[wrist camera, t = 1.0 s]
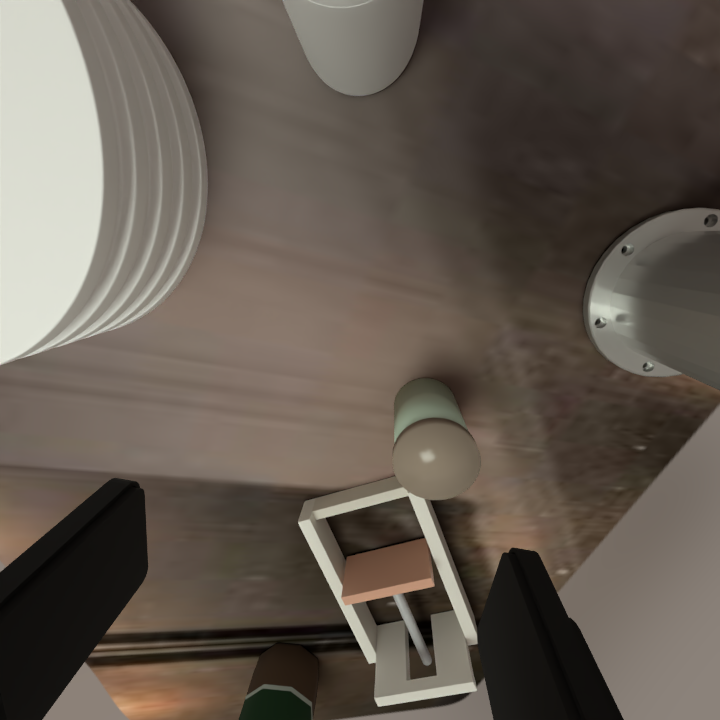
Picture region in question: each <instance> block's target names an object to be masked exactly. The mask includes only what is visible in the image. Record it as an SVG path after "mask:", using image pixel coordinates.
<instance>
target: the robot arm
mask: <svg viewBox="0 0 720 720" xmlns="http://www.w3.org/2000/svg"><path fill="white" fill-rule="evenodd" d="M622 247H623V248H624V250H623V252H621V250H622ZM583 318H584V324H585V328H586V331H587V333H588V336H589V338H590V341H591V342H592V343H593V345H594V346H595V348H596V349H597V351H598V352H599V353H600V354H601V355H603V356H604V357H605V358H606V359H607V360H608V361H610V362H612V363H613V364H615V365H617V366H618V367H620V368H622V369H625V370H627V371H629V372H631V373H634V374H638V375H642V376H651V377H667V376H675V375H681V374H685V375H687V376H689V377H692V378H694V379H696V380H698V381H700V382H703V383H705V384H707V385H709V386H712V387H714V388H716V389H718V390H720V210H718V209H709V208H690V209H681V210H675V211H669V212H665V213H662V214H659V215H656V216H654V217H651V218H648V219H646V220H644V221H643V222H641V223H639V224H637V225H635V226H634V227H632V228H630V229H629V230H628V231H627V232H625V233H624V234H623V235H622V236H620V237H619V238H618V239H616V241H615V242H614V243H613V244H612V245H611V246H610V247H609V248H608V249H607V250H606V251H605V252H604V254H603V255H602V257H601V258H600V260H599V261H598V263H597V264H596V266H595V267H594V269H593V271H592V274H591V276H590V278H589V280H588V282H587V286H586V290H585V294H584V299H583ZM597 319H598V321H597V322H596V323H595V321H596V320H597ZM147 570H148V556H147V535H146V514H145V494H144V490H143V489H141V488H140V486H139V484H138V482H135V481H130V480H124V479H119V478H113V479H111V480H109V481H108V482H107V483H105V484H104V485H103V486H102V487H101V488H100V489H98V490H97V491H96V492H95V493H94V494H92V495H91V496H90V497H89V498H88V499H87V500H85V501H84V502H83V503H82V504H81V505H79V506H78V507H77V508H76V509H75V510H73V511H72V512H71V513H70V514H69V515H68V516H66V517H65V518H64V519H63V520H62V521H60V522H59V523H58V524H57V525H56V526H54V527H53V528H52V529H51V530H50V531H49V532H47V533H46V534H45V535H44V536H43V537H41V538H40V539H39V540H38V541H37V542H36V543H34V544H33V545H32V546H31V547H30V548H28V549H27V550H26V551H25V552H24V553H22V554H21V555H20V556H19V557H18V558H17V559H15V560H14V561H13V562H12V563H11V564H9V565H8V566H7V567H6V568H5V569H4V570H3V571H1V572H0V720H42V719H43V718H44V716H45V715H46V714H47V712H48V711H49V710H50V708H51V707H52V706H53V704H54V703H55V701H56V700H57V699H58V697H59V696H60V695H61V693H62V692H63V690H64V689H65V688H66V686H67V685H68V684H69V682H70V681H71V680H72V678H73V677H74V675H75V674H76V673H77V671H78V670H79V669H80V667H81V666H82V665H83V663H84V662H85V660H86V659H87V658H88V656H89V655H90V654H91V652H92V651H93V650H94V648H95V647H96V645H97V644H98V643H99V641H100V640H101V639H102V637H103V636H104V635H105V633H106V632H107V630H108V629H109V628H110V626H111V625H112V624H113V622H114V621H115V619H116V618H117V617H118V615H119V614H120V613H121V611H122V610H123V609H124V607H125V606H126V604H127V603H128V602H129V600H130V599H131V598H132V596H133V595H134V594H135V592H136V591H137V589H138V588H139V587H140V585H141V584H142V582H143V581H144V579H145V577H146V574H147ZM477 643H478V648H479V653H480V658H481V663H482V667H483V672H484V677H485V681H486V686H487V690H488V695H489V700H490V705H491V710H492V714H493V719H494V720H624V719H623V718H622V715H621V713H620V711H619V709H618V707H617V705H616V703H615V701H614V699H613V697H612V695H611V693H610V690H609V688H608V686H607V684H606V682H605V680H604V678H603V676H602V674H601V672H600V670H599V668H598V666H597V664H596V662H595V660H594V658H593V655H592V653H591V651H590V649H589V647H588V645H587V643H586V641H585V639H584V637H583V635H582V633H581V631H580V629H579V627H578V626H577V624H576V623H575V622H574V621H573V620H572V619H571V618H569V617H568V615H567V613H566V611H565V609H564V607H563V605H562V602H561V601H560V598H559V596H558V594H557V592H556V590H555V588H554V585H553V583H552V581H551V579H550V577H549V575H548V573H547V571H546V568H545V566H544V564H543V562H542V560H541V558H540V556H539V554H538V553H537V552H535V551H530V550H524V549H518V548H511V549H510V551H509V553H503V554H502V556H501V559H500V562H499V565H498V568H497V572H496V575H495V578H494V581H493V584H492V587H491V590H490V593H489V596H488V599H487V602H486V605H485V608H484V611H483V614H482V617H481V620H480V623H479V626H478V630H477Z"/></svg>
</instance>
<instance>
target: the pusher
mask: <svg viewBox="0 0 720 720" xmlns="http://www.w3.org/2000/svg"><path fill="white" fill-rule="evenodd" d="M434 586H435V585H434V577H433V569H432V562H431V554H430V548H429V545H428V543H427V540H426V538H423V539H419V540H414V541H410V542H406V543H402V544H398V545H394V546H390V547H385V548H381V549H377V550H373V551H369V552H365V553H360V554H356V555H352V556H348V557H347V559H346V567H345V574H344V581H343V588H342V595H341V598H342V600H343V602H344V604H345V606H346V605H350V604H355V603H360V602H364V601H369V600H373V599H378V598H383V597H387V596H392V595H393V597H394V599H395V602H396V604H397V606H398V608H399V610H400V613H401V615H402V617H403V619H404V622H405V624H406V626H407V628H408V630H409V633H410V635H411V637H412V639H413V642H414V644H415V646H416V648H417V650H418V653H419V655H420V657H421V659H422V662H423V664H424V665H430V664H431V662H432V658H431V656H430V654H429V651H428V649H427V647H426V644H425V642H424V640H423V638H422V635H421V633H420V631H419V629H418V626H417V624H416V622H415V619H414V617H413V615H412V613H411V610H410V608H409V606H408V603H407V601H406V599H405V597H404V594H403V593H406V592H411V591H415V590H420V589H424V588H429V587H434Z"/></svg>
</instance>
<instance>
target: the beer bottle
mask: <svg viewBox="0 0 720 720" xmlns="http://www.w3.org/2000/svg"><path fill="white" fill-rule="evenodd" d="M318 680H319V674H318V659H317V658H316V657H315V656H314V655H312V654H311V653H310V652H309V651H307V650H306V649H305V648H304V647H302V646H301V645H294V644H283V643H277V644H275V645H274V646H272V647H271V648H269V649H268V650H267V651H265V652H264V653H262V654H261V655H260V657H259V660H258V663H257V665H256V668H255V671H254V673H253V676H252V680H251V683H250V686H249V689H248V692H247V695H246V698H245V702H244V705H243V708H242V711H241V714H240V717H239V720H313V715H314V709H315V703H316V697H317V689H318Z"/></svg>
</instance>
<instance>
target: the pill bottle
mask: <svg viewBox="0 0 720 720" xmlns="http://www.w3.org/2000/svg"><path fill="white" fill-rule="evenodd" d="M282 1H283V3H284V6H285V8H286V10H287V13H288V15H289V17H290V20H291V22H292V24H293V27H294V29H295V31H296V34H297V36H298V38H299V41H300V43H301V45H302V48H303V50H304V52H305V55H306V57H307V59H308V61H309V63H310V65H311V66H312V68H313V69H314V71H315V72H316V73H317V75H318V76H319V77H320V78H321V79H322V80H323V81H324V82H325V83H326V84H327V85H328V86H330V87H331V88H333V89H334V90H336V91H338V92H340V93H343V94H346V95H351V96H366V95H371V94H374V93H377V92H379V91H381V90H383V89H385V88H386V87H388V86H389V85H390V84H392V83H393V82H394V81H395V80H396V79H397V78H398V77H399V76H400V74H401V73H402V72H403V70H404V69H405V67H406V66H407V64H408V62H409V60H410V58H411V56H412V53H413V51H414V48H415V45H416V42H417V38H418V33H419V27H420V20H421V14H422V7H423V1H424V0H282Z"/></svg>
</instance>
